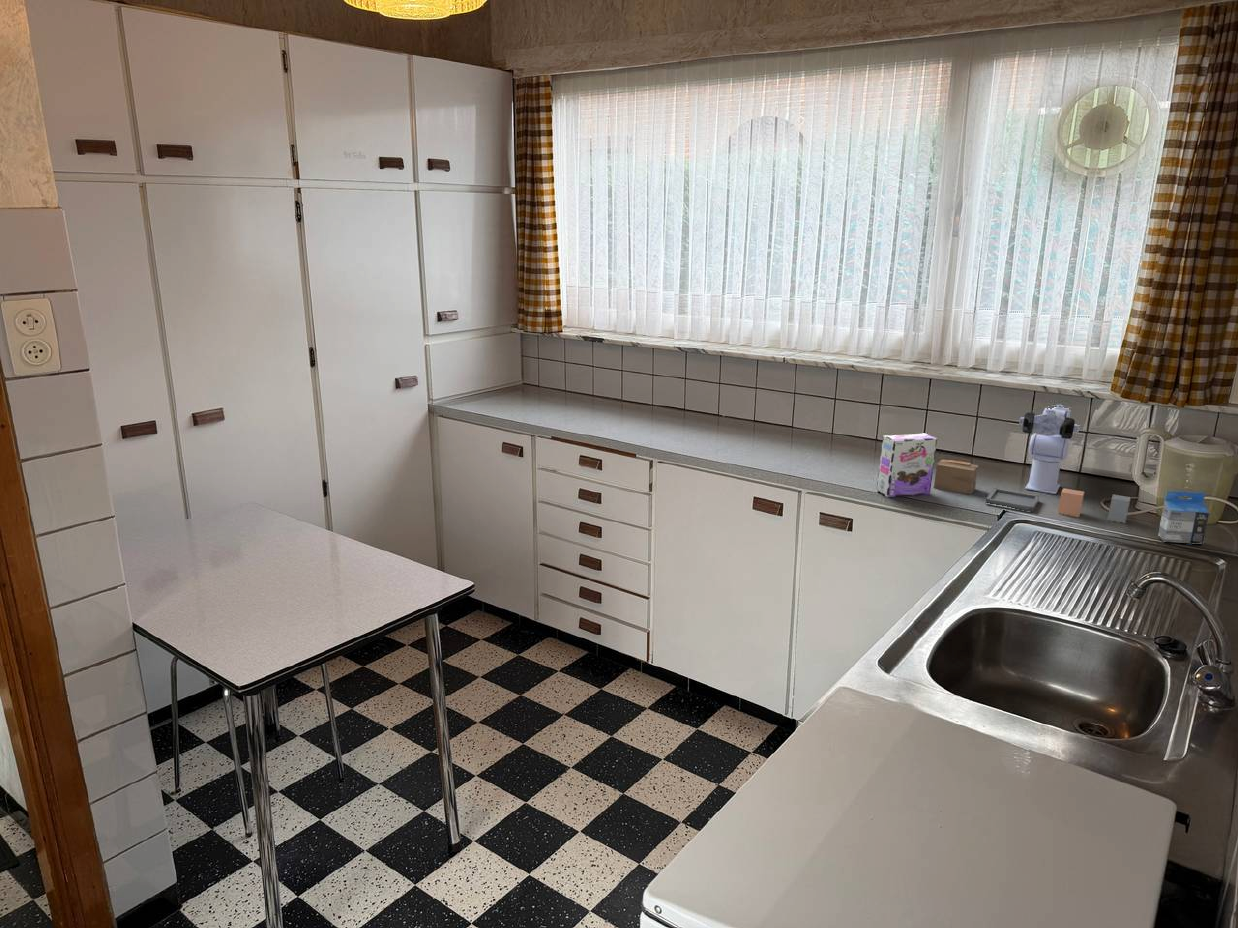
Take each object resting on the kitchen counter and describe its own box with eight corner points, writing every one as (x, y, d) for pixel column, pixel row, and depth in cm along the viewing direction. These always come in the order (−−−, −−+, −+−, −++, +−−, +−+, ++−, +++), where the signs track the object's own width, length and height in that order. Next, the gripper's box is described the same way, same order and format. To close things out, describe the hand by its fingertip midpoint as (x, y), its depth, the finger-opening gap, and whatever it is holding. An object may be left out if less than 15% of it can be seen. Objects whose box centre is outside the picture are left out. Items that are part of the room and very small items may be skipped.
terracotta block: (1059, 509, 233) (1063, 488, 231) (1080, 513, 231) (1084, 491, 229) (1057, 513, 230) (1061, 492, 228) (1078, 517, 227) (1082, 495, 226)
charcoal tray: (993, 493, 245) (994, 488, 245) (1038, 501, 239) (1039, 495, 239) (985, 504, 236) (986, 498, 235) (1032, 513, 230) (1033, 507, 229)
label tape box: (1163, 543, 211) (1174, 495, 207) (1156, 537, 214) (1166, 490, 211) (1203, 546, 209) (1214, 497, 206) (1194, 540, 213) (1205, 492, 210)
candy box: (887, 498, 239) (893, 440, 235) (875, 491, 245) (881, 434, 240) (930, 494, 243) (938, 437, 238) (918, 488, 248) (925, 432, 244)
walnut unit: (939, 482, 254) (942, 458, 252) (975, 488, 249) (978, 463, 247) (933, 487, 249) (937, 463, 247) (970, 494, 244) (974, 469, 242)
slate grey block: (1108, 516, 229) (1112, 494, 227) (1126, 519, 227) (1130, 497, 225) (1107, 520, 226) (1111, 498, 224) (1125, 523, 224) (1129, 501, 222)
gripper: (1025, 404, 243) (1017, 409, 231) (1083, 412, 235) (1078, 417, 224) (1020, 429, 244) (1013, 435, 233) (1078, 437, 237) (1073, 444, 226)
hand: (1045, 428), depth 229 cm, fingers open, 7 cm apart
